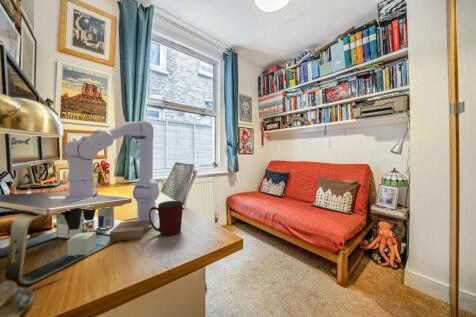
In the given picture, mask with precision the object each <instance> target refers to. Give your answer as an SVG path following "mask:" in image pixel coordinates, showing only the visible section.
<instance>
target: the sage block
mask: <svg viewBox="0 0 476 317" xmlns="http://www.w3.org/2000/svg"><path fill="white" fill-rule="evenodd" d="M66 241H67V257H68V256H69V255H75V254H87V253H89V252H90V251H91V250H92V249H93V248H94V247H96V248H97V231H91V232H88V231H87V232H84V233H78V234H76V235H75V236H73V237H72V238H70V239H67V240H66ZM92 251H93V250H92ZM92 251H91V252H92ZM91 252H90V253H91ZM90 253H89V254H90Z"/></svg>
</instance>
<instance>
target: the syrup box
mask: <svg viewBox="0 0 476 317" xmlns="http://www.w3.org/2000/svg"><path fill="white" fill-rule="evenodd" d="M55 216H56V217H55V218H56V220H55V221H56V238H57V237H58V238H59V239H67V240H69V238H71V237H73V236H75V235H76V234H78V233H81V224H82V223H84V224H85V219H84V214H83V211H82V214H81V219H80V226H79V229H75V230H69V228H68V225H67V222H66V220H65V218H64V216H63V215H62V213H59V214H56V213H55Z"/></svg>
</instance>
